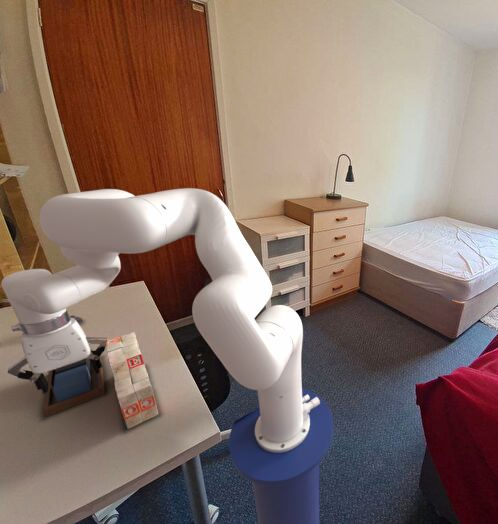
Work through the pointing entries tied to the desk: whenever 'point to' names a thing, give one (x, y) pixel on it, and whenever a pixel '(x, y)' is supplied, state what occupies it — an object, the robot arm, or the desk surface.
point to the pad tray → (53, 406)
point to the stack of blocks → (131, 380)
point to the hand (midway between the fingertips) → (73, 379)
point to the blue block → (72, 383)
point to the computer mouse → (77, 319)
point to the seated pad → (75, 366)
